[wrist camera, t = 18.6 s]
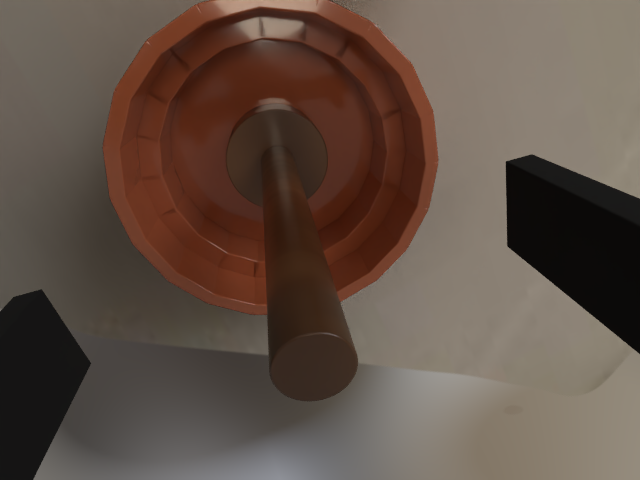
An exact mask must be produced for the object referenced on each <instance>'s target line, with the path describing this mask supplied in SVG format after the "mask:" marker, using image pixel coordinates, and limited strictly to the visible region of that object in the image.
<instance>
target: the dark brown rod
mask: <svg viewBox="0 0 640 480" xmlns="http://www.w3.org/2000/svg"><path fill="white" fill-rule="evenodd" d="M327 166H328V153H327V148H326V144H325V141H324V139H323V137H322V135H321V134H320V132H319V130H318V129H317V128H316V126H315V125H314V123H313V122H312V121H311V120H310V118H308V117H307V116H306V115H305V114H304V113H303V112H301V111H300V110H298V109H296V108H294V107H291V106H289V105H285V104H277V103H272V104H265V105H261V106H258V107H255V108H253V109H251V110H250V111H248V112H247V113H245V114H244V115H243V116H242V117H241V118H240V119H239V121H238V122H237V123H236V125H235V126H234V128H233V130H232V132H231V135H230V139H229V142H228V146H227V150H226V167H227V172H228V175H229V178H230V180H231V182H232V184H233V185H234V187H235V188H236V190H237V191H238V192H239V193H240V194H241V195H242V196H243V197H244V198H246V199H247V200H248V201H250V202H252V203H253V204H255V205H258V206H260V207H263V220H264V246H265V272H266V297H267V323H268V349H269V372H270V377H271V380H272V382H273V384H274V385H275V387H276V388H277V389H278V390H279V391H280V392H281V393H282V394H284V395H286V396H287V397H290V398H292V399H295V400H300V401H317V400H323V399H326V398H329V397H331V396H334V395H336V394H337V393H339V392H340V391H342V390H343V389H344V388H346V387H347V386H348V385H349V383H350V382H351V381H352V379H353V378H354V376H355V374H356V371H357V366H358V357H357V353H356V350H355V347H354V344H353V341H352V338H351V334H350V331H349V328H348V325H347V322H346V319H345V316H344V313H343V310H342V307H341V303H340V300H339V297H338V294H337V291H336V288H335V285H334V282H333V279H332V275H331V272H330V269H329V266H328V263H327V260H326V257H325V254H324V251H323V248H322V244H321V241H320V238H319V235H318V232H317V229H316V226H315V223H314V220H313V216H312V213H311V210H310V207H309V204H308V201H307V200H308V199H309V198H310V197H311V196H312V195H313V194H314V193H315V192H316V191H317V190H318V188H319V187H320V186H321V184H322V182H323V180H324V178H325V175H326V171H327Z"/></svg>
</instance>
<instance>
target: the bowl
mask: <svg viewBox="0 0 640 480" xmlns="http://www.w3.org/2000/svg"><path fill="white" fill-rule="evenodd" d="M272 103H277V104H285V105H289V106H291V107H294V108H296V109H298V110H300V111H301V112H303V113H304V114H305V115H306V116H307V117H308V118H310V120H311V121H312V122H313V123H314V125H315V126H316V128H317V129H318V130H319V132H320V134H321V135H322V137H323V139H324V141H325V144H326V148H327V153H328V166H327V171H326V175H325V178H324V180H323V182H322V184H321V186H320V187H319V188H318V190H317V191H316V192H315V193H314V194H313V195H312V196H311V197H310V198H309V199H308V200H307V201H308V204H309V207H310V210H311V213H312V216H313V220H314V223H315V226H316V229H317V232H318V235H319V238H320V241H321V244H322V248H323V251H324V254H325V257H326V260H327V263H328V266H329V269H330V272H331V275H332V279H333V282H334V285H335V288H336V291H337V294H338V297H339V300H340V302H341V301H343V300H344V299H346V298H348V297H349V296H351V295H353V294H354V293H356V292H358V291H360V290H361V289H363V288H365V287H366V286H368V285H370V284H371V283H373V282H375V281H376V280H378V278H379V277H380V276H381V275H382V274H383V273H384V272H385V271H386V270H387V269H388V268H389V267H390V266H391V265H392V264H393V263H394V262H395V261H396V260H397V259H398V258H399V257H400V256H401V255H402V254H403V253H404V252H405V251H406V250H407V248H408V247H409V245H410V243H411V241H412V239H413V237H414V235H415V234H416V232H417V230H418V228H419V226H420V224H421V222H422V221H423V219H424V217H425V215H426V213H427V211H428V208H429V206H430V201H431V196H432V191H433V187H434V182H435V177H436V172H437V167H438V151H437V142H436V132H435V122H434V114H433V109H432V107H431V105H430V103H429V100H428V98H427V96H426V94H425V92H424V89H423V87H422V85H421V83H420V80H419V78H418V76H417V74H416V71H415V69H414V67H413V65H412V64H411V62H410V61H409V60H408V59H407V58H406V57H405V56H404V55H403V53H402V52H401V51H400V50H399V49H398V48H397V47H396V46H395V45H394V44H393V43H392V42H391V41H390V40H389V39H388V38H387V37H386V35H385V34H384V33H383V32H382V31H381V30H380V29H379V28H378V27H377V26H376V25H375V24H374V23H372V22H371V21H370V20H368V19H366V18H364V17H362V16H360V15H358V14H356V13H354V12H352V11H350V10H348V9H346V8H344V7H342V6H340V5H338V4H336V3H334V2H332V1H330V0H209V1H205V2H201V3H198V4H196V5H194V6H193V7H191V8H190V9H188V10H187V11H186V12H184V13H183V14H182V15H180V16H179V17H177V18H176V19H175V20H173V21H172V22H170V23H169V24H168V25H166V26H165V27H164V28H162V29H161V30H159V31H158V32H157V33H155V34H154V35H152V36H151V37H150V38H148V39H147V41H145V43H144V44H143V46H142V47H141V49H140V51H139V52H138V54H137V55H136V57H135V58H134V60H133V61H132V63H131V65H130V66H129V68H128V69H127V71H126V72H125V74H124V75H123V77H122V79H121V80H120V82H119V83H118V85H117V86H116V88H115V91H114V93H113V98H112V103H111V107H110V112H109V117H108V122H107V126H106V131H105V136H104V141H103V154H104V161H105V168H106V175H107V182H108V190H109V197H110V200H111V202H112V204H113V206H114V208H115V210H116V212H117V214H118V216H119V218H120V220H121V222H122V224H123V226H124V228H125V230H126V232H127V234H128V236H129V238H130V240H131V242H132V244H133V245H134V246H135V247H136V249H137V250H138V251H139V252H140V253H141V254H142V255H143V256H144V257H145V258H146V259H147V260H148V261H149V262H150V263H151V264H152V265H153V266H154V267H155V268H156V269H157V270H158V271H159V272H160V273H161V274H162V275H163V276H164V277H165V278H166V279H167V280H168V281H169V282H171V283H172V284H174V285H176V286H178V287H179V288H181V289H183V290H185V291H186V292H188V293H190V294H192V295H193V296H195V297H197V298H199V299H200V300H202V301H204V302H206V303H209V304H211V305H215V306H219V307H223V308H227V309H231V310H235V311H239V312H243V313H247V314H251V315H252V314H253V315H267V297H266V272H265V246H264V220H263V207H260V206H258V205H255V204H253V203H252V202H250V201H248V200H247V199H246V198H244V197H243V196H242V195H241V194H240V193H239V192H238V191H237V190H236V188H235V187H234V185H233V184H232V182H231V180H230V178H229V175H228V172H227V167H226V150H227V146H228V142H229V139H230V135H231V132H232V130H233V128H234V126H235V125H236V123H237V122H238V121H239V119H240V118H241V117H242V116H243V115H244V114H245V113H247V112H248V111H250V110H251V109H253V108H255V107H258V106H261V105H265V104H272Z"/></svg>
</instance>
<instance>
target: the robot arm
mask: <svg viewBox="0 0 640 480" xmlns="http://www.w3.org/2000/svg"><path fill="white" fill-rule="evenodd" d="M506 196H507V246H508V247H509V248H510V249H511V250H513V251H514V252H515V253H516V254H517V255H519V256H520V257H521V258H522V259H524V260H525V261H526V262H527V263H529V264H530V265H531V266H532V267H533V268H535V269H536V270H537V271H538V272H540V273H541V274H542V275H543V276H545V277H546V278H547V279H548V280H549V281H551V282H552V283H553V284H554V285H556V286H557V287H558V288H559V289H561V290H562V291H563V292H564V293H565V294H567V295H568V296H569V297H570V298H572V299H573V300H574V301H575V302H577V303H578V304H579V305H580V306H581V307H583V308H584V309H585V310H586V311H588V312H589V313H590V314H591V315H593V316H594V317H595V318H596V319H597V320H599V321H600V322H601V323H602V324H604V325H605V326H606V327H607V328H608V329H610V330H611V331H612V332H613V333H615V334H616V335H617V336H618V337H620V338H621V339H622V340H623V341H624V342H626V343H627V344H628V345H629V346H631V347H632V348H633V349H634V350H636V351H637V352H638V353H639V354H640V199H639V198H637V197H634V196H632V195H629V194H627V193H624V192H622V191H620V190H617V189H615V188H612V187H610V186H607V185H605V184H603V183H600V182H598V181H595V180H593V179H590V178H588V177H586V176H583V175H581V174H578V173H576V172H573V171H571V170H569V169H566V168H564V167H561V166H559V165H556V164H554V163H552V162H549V161H547V160H544V159H542V158H539V157H537V156H535V155H528V156H524V157H521V158H517V159H514V160H510V161H506ZM90 364H91V363H90V361H89V360H88V358H87V357H86V355H85V354H84V352H83V351H82V349H81V348H80V346H79V345H78V343H77V342H76V340H75V339H74V337H73V336H72V334H71V333H70V331H69V330H68V328H67V327H66V325H65V324H64V322H63V321H62V319H61V318H60V316H59V315H58V313H57V312H56V310H55V309H54V307H53V306H52V304H51V303H50V301H49V300H48V298H47V297H46V295H45V294H44V292H43V291H42V289H41V290H38V291H34V292H30V293H27V294H23V295H19V296H16V297H13V298H12V299H11V301H10V302H9V303H8V304H7V305H6V306H5V307H4V308H3V309H2V310H1V311H0V480H33V478H34V477H35V475H36V472H37V470H38V468H39V466H40V464H41V462H42V460H43V458H44V456H45V454H46V452H47V450H48V448H49V446H50V444H51V442H52V440H53V438H54V436H55V434H56V432H57V430H58V428H59V426H60V424H61V422H62V420H63V418H64V416H65V414H66V412H67V410H68V408H69V406H70V404H71V402H72V400H73V398H74V396H75V394H76V392H77V390H78V388H79V386H80V384H81V382H82V380H83V378H84V376H85V374H86V372H87V370H88V368H89V366H90Z"/></svg>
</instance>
